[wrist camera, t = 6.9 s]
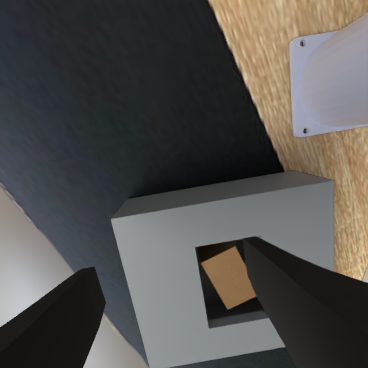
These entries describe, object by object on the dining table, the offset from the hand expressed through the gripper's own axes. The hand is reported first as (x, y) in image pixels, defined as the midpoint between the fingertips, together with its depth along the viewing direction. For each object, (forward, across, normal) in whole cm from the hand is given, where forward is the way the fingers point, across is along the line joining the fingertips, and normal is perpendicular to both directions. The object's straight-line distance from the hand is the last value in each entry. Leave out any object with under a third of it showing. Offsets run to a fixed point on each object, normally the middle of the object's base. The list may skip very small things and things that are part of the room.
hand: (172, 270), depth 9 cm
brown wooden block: (+9, -4, +6) cm, 12 cm away
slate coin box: (+10, -4, +6) cm, 12 cm away
